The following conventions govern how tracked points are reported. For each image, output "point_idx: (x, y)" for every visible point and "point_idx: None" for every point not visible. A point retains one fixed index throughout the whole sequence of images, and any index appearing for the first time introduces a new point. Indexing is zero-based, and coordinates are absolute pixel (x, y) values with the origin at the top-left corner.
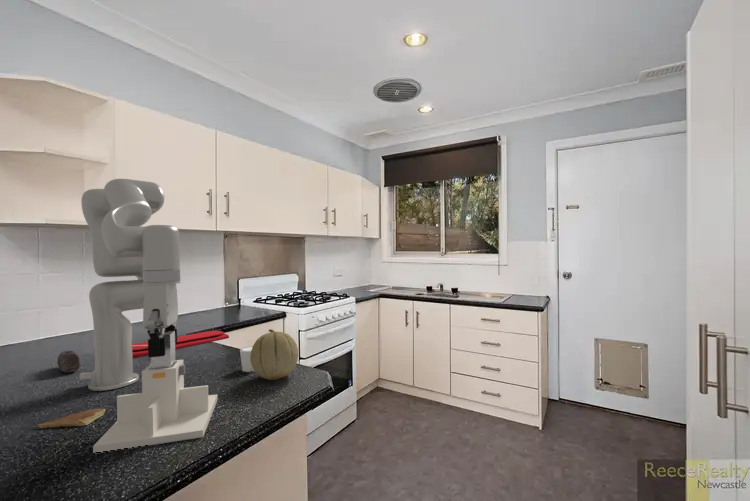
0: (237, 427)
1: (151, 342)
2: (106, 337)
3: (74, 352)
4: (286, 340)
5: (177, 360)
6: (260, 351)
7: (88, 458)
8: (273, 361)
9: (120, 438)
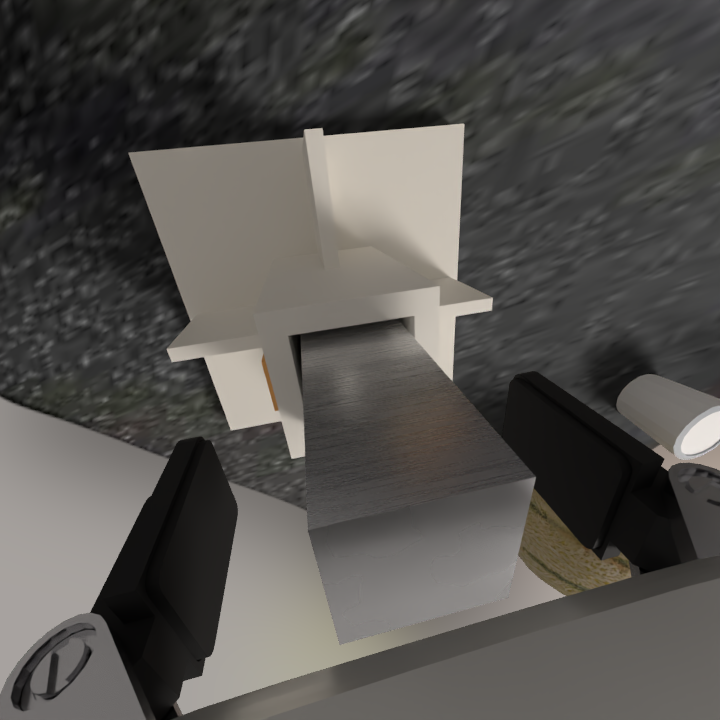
0: (275, 468)
1: (99, 598)
2: None
3: None
4: None
5: None
6: (563, 531)
7: (111, 156)
8: None
9: (185, 228)
